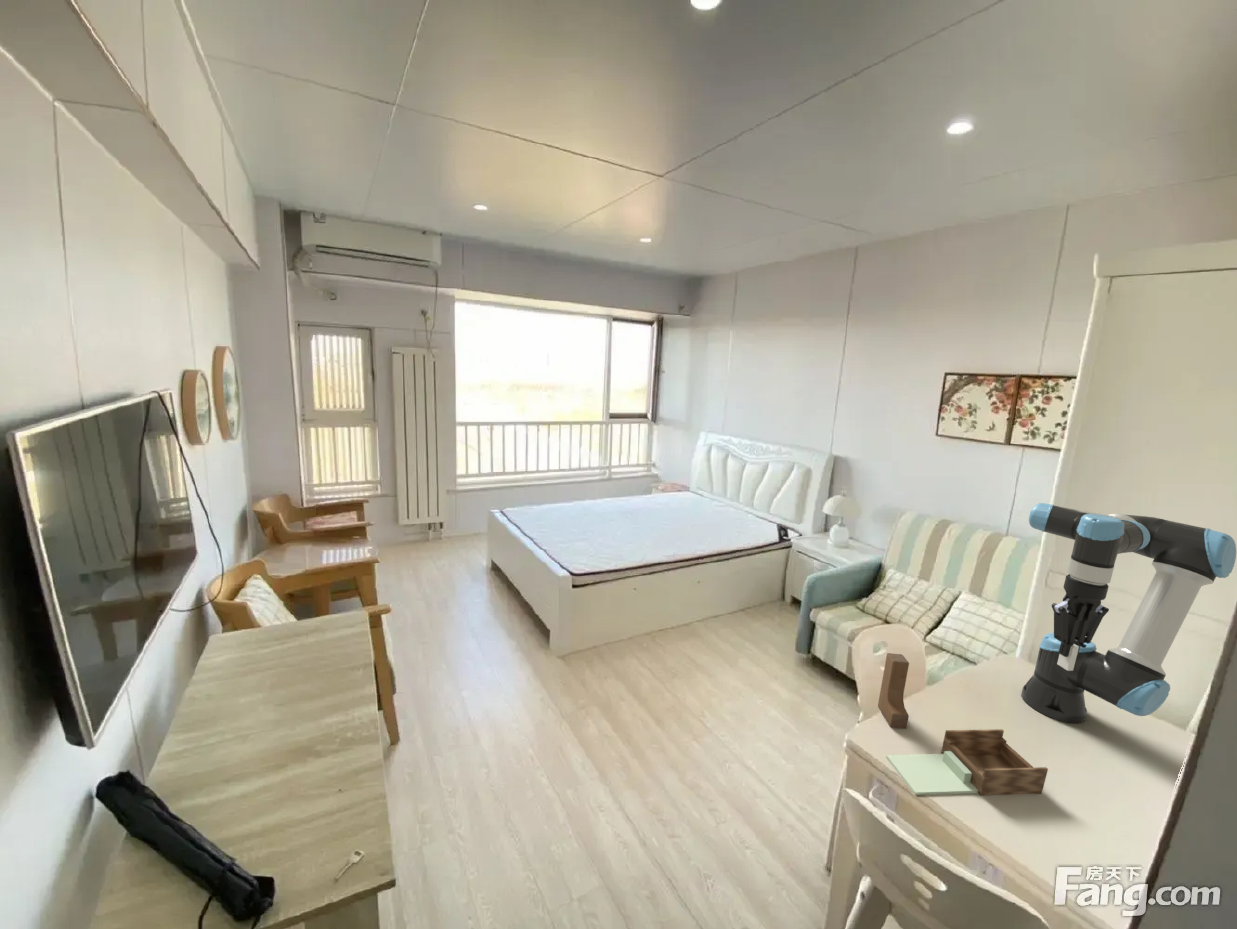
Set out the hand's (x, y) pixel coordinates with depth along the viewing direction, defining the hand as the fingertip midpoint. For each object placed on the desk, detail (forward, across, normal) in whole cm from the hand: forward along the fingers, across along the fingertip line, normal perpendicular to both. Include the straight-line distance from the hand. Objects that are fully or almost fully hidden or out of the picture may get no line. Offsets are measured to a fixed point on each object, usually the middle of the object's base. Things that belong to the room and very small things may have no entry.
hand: (1064, 667), depth 122 cm
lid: (+29, +32, +2) cm, 43 cm away
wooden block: (+29, +29, -18) cm, 45 cm away
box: (+28, +16, +2) cm, 33 cm away
